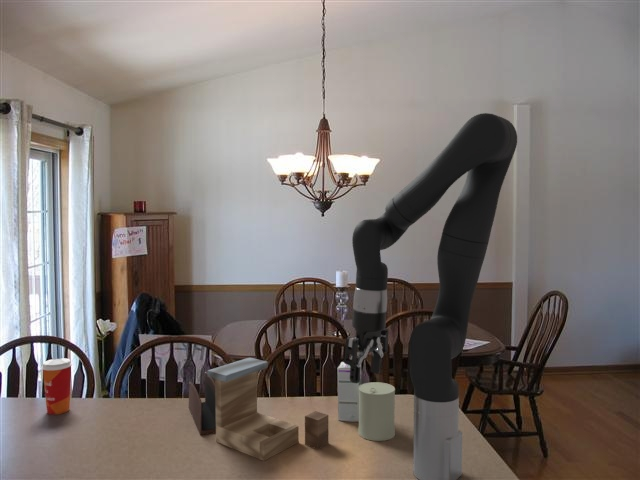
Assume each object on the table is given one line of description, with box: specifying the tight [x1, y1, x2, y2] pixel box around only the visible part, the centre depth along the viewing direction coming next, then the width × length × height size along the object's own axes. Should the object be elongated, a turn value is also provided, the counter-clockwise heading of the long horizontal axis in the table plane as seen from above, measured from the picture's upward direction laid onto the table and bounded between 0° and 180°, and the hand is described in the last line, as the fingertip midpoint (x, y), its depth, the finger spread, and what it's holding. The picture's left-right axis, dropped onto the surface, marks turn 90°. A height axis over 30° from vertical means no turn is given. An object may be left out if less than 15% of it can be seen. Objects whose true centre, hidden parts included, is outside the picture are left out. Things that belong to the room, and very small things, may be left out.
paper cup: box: [41, 357, 73, 415], centre depth 149 cm, size 8×8×14 cm
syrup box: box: [337, 361, 362, 423], centre depth 144 cm, size 6×6×14 cm
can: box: [357, 381, 396, 442], centre depth 134 cm, size 9×9×12 cm
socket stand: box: [207, 357, 300, 462], centre depth 130 cm, size 18×14×18 cm
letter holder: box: [188, 359, 228, 436], centre depth 144 cm, size 10×20×14 cm, turn 22°
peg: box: [304, 410, 329, 450], centre depth 128 cm, size 4×4×7 cm
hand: (365, 377), depth 122 cm, fingers open, 8 cm apart
